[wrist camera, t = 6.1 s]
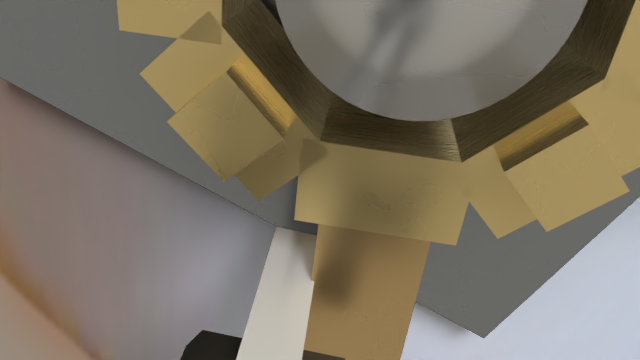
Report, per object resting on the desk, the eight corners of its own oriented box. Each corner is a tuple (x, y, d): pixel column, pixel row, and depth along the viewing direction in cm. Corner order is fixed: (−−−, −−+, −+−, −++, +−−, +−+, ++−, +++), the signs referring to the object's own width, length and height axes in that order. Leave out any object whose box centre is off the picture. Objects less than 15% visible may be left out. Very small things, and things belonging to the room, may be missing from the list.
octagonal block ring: (162, -438, 9) (27, -630, 6) (829, -379, 8) (1116, -558, 5) (184, 266, 17) (132, 359, 13) (531, 324, 16) (568, 436, 13)
